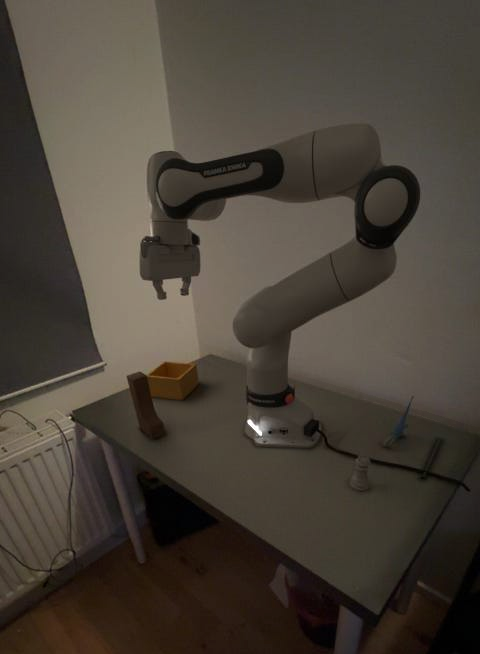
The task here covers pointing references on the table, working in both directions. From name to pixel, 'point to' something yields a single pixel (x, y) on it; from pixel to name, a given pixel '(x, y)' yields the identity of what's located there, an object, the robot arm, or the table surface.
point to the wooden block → (145, 405)
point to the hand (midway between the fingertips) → (173, 297)
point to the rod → (431, 458)
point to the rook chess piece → (361, 474)
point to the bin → (173, 380)
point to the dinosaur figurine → (397, 429)
